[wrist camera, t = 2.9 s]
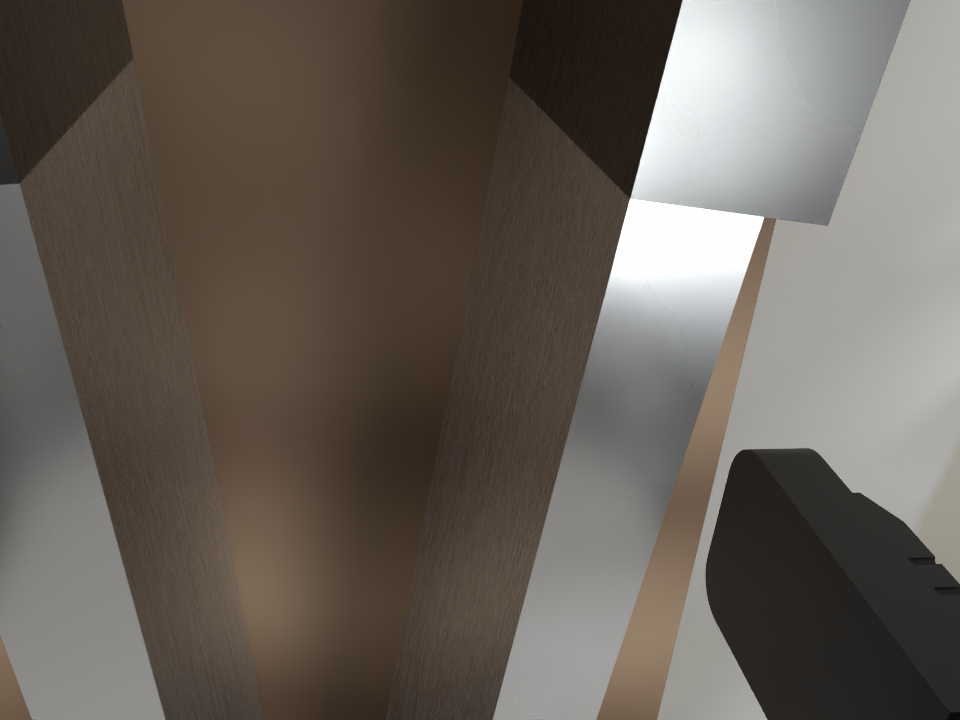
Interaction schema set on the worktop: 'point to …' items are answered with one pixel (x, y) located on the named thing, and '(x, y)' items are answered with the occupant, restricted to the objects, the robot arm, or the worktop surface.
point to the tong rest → (353, 318)
